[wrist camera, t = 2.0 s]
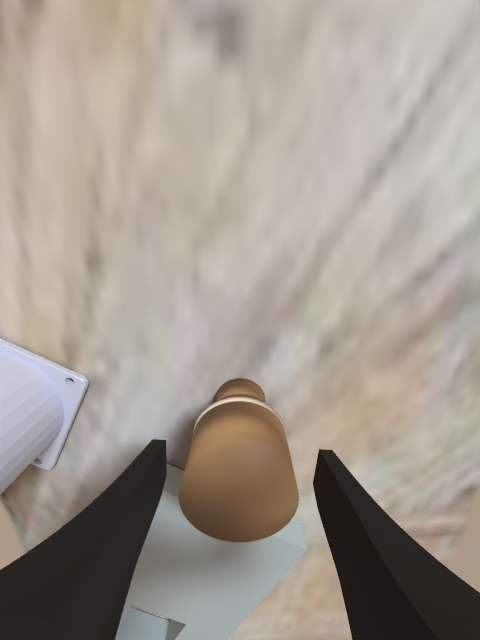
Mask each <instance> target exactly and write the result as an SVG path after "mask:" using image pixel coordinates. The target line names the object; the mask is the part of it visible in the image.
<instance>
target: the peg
mask: <svg viewBox="0 0 480 640" xmlns="http://www.w3.org/2000/svg"><path fill="white" fill-rule="evenodd" d="M298 501H299V493H298V489H297V484H296V480H295V475H294V470H293V466H292V461H291V457H290V452H289V447H288V443H287V434H286V429H285V425H284V423H283V420H282V419H281V417H280V416H279V414H278V413H277V412H276V411H275V410H274V409H273V408H272V407H270V406H269V405H268V404H266V402H265V396H264V393H263V391H262V389H261V388H260V386H259V385H257V384H256V383H255V382H253V381H251V380H248V379H242V378H238V379H233V380H230V381H227V382H226V383H224V384H223V385H222V386H221V387H220V388H219V390H218V392H217V395H216V400H215V403H213V404H211V405H210V406H208V407H207V408H206V409H205V410H204V411H203V412H202V413H201V414H200V416H199V417H198V419H197V421H196V423H195V426H194V430H193V436H192V442H191V445H190V449H189V453H188V457H187V461H186V465H185V469H184V473H183V476H182V480H181V484H180V488H179V504H180V508H181V510H182V512H183V514H184V516H185V518H186V519H187V520H188V521H189V523H190V524H192V525H193V526H194V527H195V528H196V529H197V530H199V531H200V532H202V533H204V534H205V535H208V536H210V537H212V538H215V539H218V540H222V541H228V542H252V541H257V540H261V539H264V538H267V537H269V536H271V535H273V534H275V533H277V532H278V531H280V530H281V529H283V528H284V527H285V526H286V525H287V524H288V523H289V522H290V521H291V519H292V518H293V516H294V514H295V512H296V510H297V507H298Z"/></svg>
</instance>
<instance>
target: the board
mask: <svg viewBox="0 0 480 640" xmlns="http://www.w3.org/2000/svg"><path fill="white" fill-rule="evenodd" d="M183 473H184V470H182V469H179V468H177V467H175V466H172V465H170V464H167V476H166V480H165V484H164V488H163V492H162V496H161V499H160V502H159V505H158V507H157V510H156V513H155V516H154V518H153V521H152V524H151V526H150V529H149V532H148V534H147V537H146V540H145V542H144V545H143V548H142V550H141V553H140V556H139V559H138V562H137V564H136V567H135V571H134V574H133V577H132V581H131V584H130V588H129V591H128V595H127V598H126V602H125V605H124V609H123V612H122V616H121V620H120V623H119V627H118V630H117V634H116V638H115V640H227V639H228V638H229V637H230V636H231V635H232V634H233V633H234V631H235V630H236V629H237V628H238V627H239V626H240V625H241V624H242V622H243V621H244V620H245V619H246V618H247V617H248V616H249V614H250V613H251V612H252V611H253V610H254V609H255V608H256V606H257V605H258V604H259V603H260V602H261V601H262V600H263V599H264V597H265V596H266V595H267V594H268V593H269V592H270V591H271V589H272V588H273V587H274V586H275V585H276V584H277V583H278V582H279V580H280V579H281V578H282V577H283V576H284V575H285V574H286V572H287V571H288V570H289V569H290V568H291V567H292V566H293V565H294V563H295V562H296V561H297V560H298V559H299V558H300V557H301V555H302V554H303V553H304V552H305V551H306V550H307V548H306V543H305V538H304V534H303V529H302V524H301V520H300V519H298V518H295V517H293V518H292V519H291V521H290V522H289V523H288V524H287V525H286V526H285V527H284V528H283V529H281V530H280V531H278V532H277V533H275V534H273V535H271V536H269V537H267V538H264V539H261V540H257V541H252V542H228V541H222V540H218V539H215V538H212V537H210V536H208V535H205V534H204V533H202V532H200V531H199V530H197V529H196V528H195V527H194V526H193V525H192V524H190V523H189V521H188V520H187V519H186V518H185V516H184V514H183V512H182V510H181V508H180V504H179V488H180V484H181V480H182V476H183ZM132 606H134V607H137V608H140V609H142V610H145V611H148V612H151V613H154V614H157V615H160V616H163V617H166V618H169V619H171V620H170V621H169V620H166V619H163V618H160V617H157V616H154V615H151V614H148V613H145V612H142V611H139V610H136V609H133V608H131V607H132Z"/></svg>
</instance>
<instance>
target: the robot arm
mask: <svg viewBox="0 0 480 640" xmlns="http://www.w3.org/2000/svg"><path fill="white" fill-rule="evenodd" d="M69 378H71V379H73V381H74V382H72V381H71V380H70V379H69ZM88 384H89V382H88V380H87V378H86V377H84V376H82V375H80V374H78V373H76V372H74V371H71V370H69V369H67V368H65V367H62V366H60V365H58V364H56V363H54V362H51V361H49V360H47V359H45V358H42V357H40V356H38V355H36V354H33V353H31V352H29V351H27V350H25V349H22V348H20V347H18V346H16V345H13V344H11V343H9V342H7V341H5V340H2V339H0V495H1V494H2V493H3V492H4V490H5V489H6V488H7V487H8V486H9V485H10V484H11V483H12V482H13V481H14V480H15V479H16V478H17V477H18V476H19V475H20V474H21V473H22V472H23V471H24V470H25V469H26V467H27V466H28V465H29V464H32V465H34V466H37V467H39V468H42V469H45V470H49V469H51V468H52V467H53V466H54V465H55V464H56V462H57V459H58V457H59V454H60V452H61V450H62V447H63V445H64V442H65V440H66V438H67V435H68V433H69V430H70V428H71V426H72V423H73V421H74V418H75V416H76V414H77V411H78V409H79V407H80V404H81V402H82V399H83V397H84V395H85V392H86V390H87V387H88ZM166 476H167V459H166V440H154V439H153V440H152V441H151V442H150V443H149V444H148V445H147V446H146V447H145V449H144V450H143V451H142V452H141V453H140V454H139V456H138V457H137V458H136V459H135V460H134V461H133V462H132V463H131V464H130V465H129V467H128V468H127V469H126V470H125V471H124V472H123V473H122V474H121V475H120V476H119V477H118V478H117V479H116V480H115V481H114V482H113V483H112V484H111V485H110V486H109V487H108V488H107V489H106V490H105V491H104V492H103V493H102V494H101V495H100V496H99V497H97V498H96V499H95V500H94V501H93V502H92V503H91V504H90V505H89V506H87V507H86V508H85V509H84V510H83V511H82V512H80V513H79V514H78V515H77V516H76V517H74V518H73V519H72V520H70V521H69V522H68V523H67V524H65V525H64V526H63V527H62V528H60V529H59V530H58V531H57V532H55V533H54V534H53V535H51V536H50V537H48V538H47V539H46V540H44V541H43V542H41V543H40V544H39V545H37V546H36V547H34V548H33V549H31V550H30V551H29V552H27V553H26V554H24V555H23V556H21V557H20V558H18V559H17V560H15V561H14V562H12V563H11V564H9V565H8V566H6V567H4V568H3V569H1V570H0V640H115V638H116V634H117V630H118V627H119V623H120V620H121V616H122V612H123V609H124V605H125V602H126V598H127V595H128V591H129V588H130V584H131V581H132V577H133V574H134V571H135V567H136V564H137V562H138V559H139V556H140V553H141V550H142V548H143V545H144V542H145V540H146V537H147V534H148V532H149V529H150V526H151V524H152V521H153V518H154V516H155V513H156V510H157V507H158V505H159V502H160V499H161V496H162V492H163V488H164V484H165V480H166ZM313 486H314V491H315V497H316V502H317V507H318V510H319V514H320V517H321V520H322V524H323V527H324V530H325V534H326V537H327V540H328V543H329V547H330V550H331V553H332V556H333V560H334V563H335V566H336V569H337V573H338V577H339V580H340V584H341V589H342V593H343V598H344V602H345V607H346V611H347V615H348V620H349V625H350V630H351V634H352V639H353V640H480V593H479V592H478V591H476V590H475V589H474V588H472V587H471V586H470V585H468V584H467V583H466V582H464V581H463V580H462V579H461V578H459V577H458V576H457V575H455V574H454V573H453V572H452V571H450V570H449V569H448V568H447V567H445V566H444V565H443V564H442V563H440V562H439V561H438V560H437V559H436V558H434V557H433V556H432V555H431V554H430V553H429V552H427V551H426V550H425V549H424V548H423V547H421V546H420V545H419V544H418V543H417V542H416V541H415V540H414V539H412V538H411V537H410V536H409V535H408V534H407V533H406V532H405V531H404V530H403V529H402V528H401V527H400V526H399V525H398V524H397V523H396V522H394V521H393V520H392V519H391V518H390V517H389V516H388V515H387V513H386V512H385V511H384V510H383V509H382V508H381V507H380V506H379V505H378V504H377V503H376V502H375V501H374V500H373V499H372V497H371V496H370V495H369V494H368V493H367V492H366V491H365V489H364V488H363V487H362V486H361V485H360V484H359V482H358V481H357V480H356V479H355V478H354V477H353V475H352V474H351V473H350V472H349V470H348V469H347V468H346V467H345V465H344V464H343V463H342V462H341V460H340V459H339V458H338V457H337V456H336V454H335V453H334V452H333V451H332V450H321V449H319V453H318V458H317V464H316V469H315V475H314V481H313Z"/></svg>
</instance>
